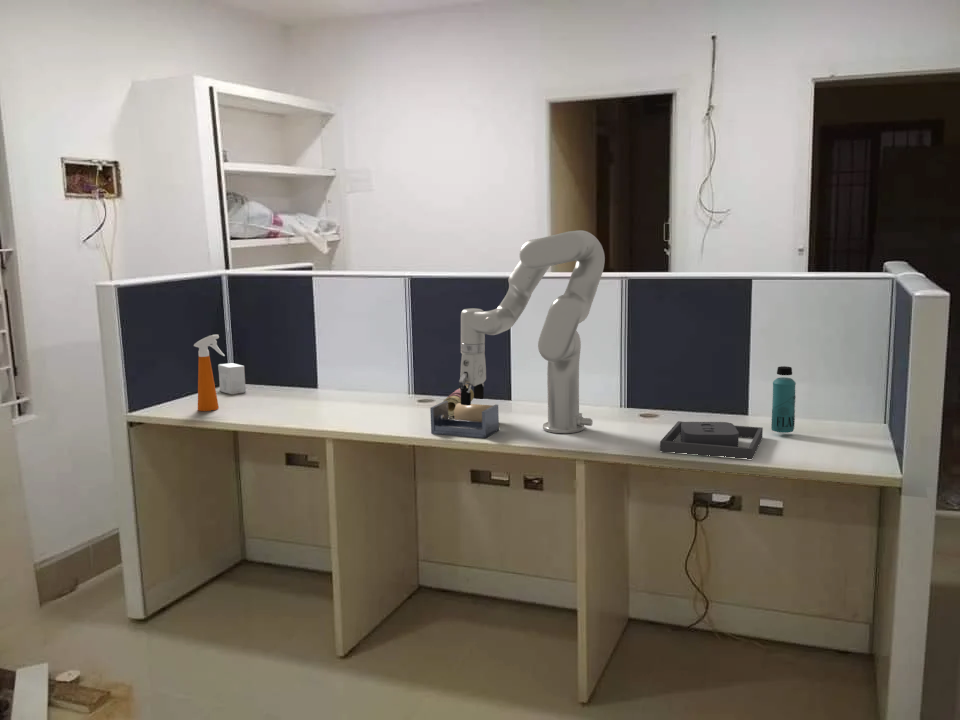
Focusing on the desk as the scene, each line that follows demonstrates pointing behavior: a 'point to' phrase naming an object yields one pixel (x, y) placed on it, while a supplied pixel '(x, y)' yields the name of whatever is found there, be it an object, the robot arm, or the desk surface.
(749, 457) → the speaker tray
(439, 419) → the holder
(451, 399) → the scroll
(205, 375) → the spray bottle
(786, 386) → the beverage bottle
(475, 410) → the roll
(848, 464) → the desk surface
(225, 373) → the skincare box
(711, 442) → the streaming box
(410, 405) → the desk surface
